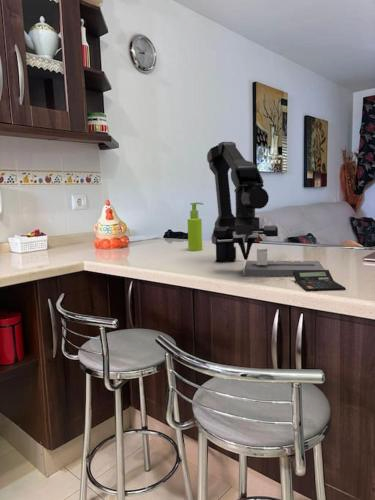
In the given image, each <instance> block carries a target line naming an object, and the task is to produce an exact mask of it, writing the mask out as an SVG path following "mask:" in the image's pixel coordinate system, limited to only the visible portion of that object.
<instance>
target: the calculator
mask: <svg viewBox="0 0 375 500" xmlns="http://www.w3.org/2000/svg"><path fill="white" fill-rule="evenodd" d="M293 275H294V277H293V278H294V281H295V282H296V285H297V286H299V287H300V288H301V289H303V290H304V291H305V292H327V291H329V292H333V291H346V290H347V289H346V287H345V286H343V285H342V284H340V283H338V281H337V282H336V281H335V280H334V279H333V277H332V274H331V273H330V270H329V269H325V270H307V271H293Z"/></svg>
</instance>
